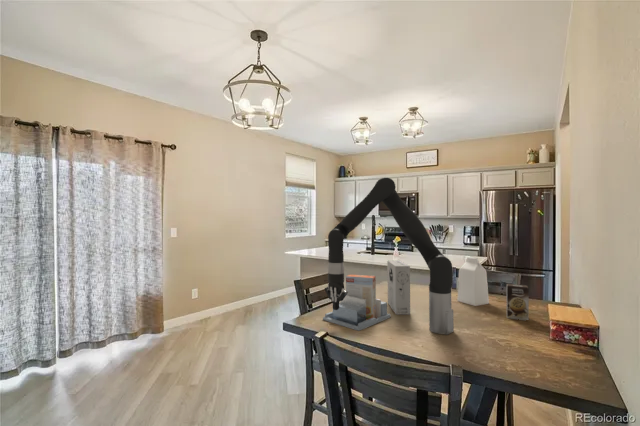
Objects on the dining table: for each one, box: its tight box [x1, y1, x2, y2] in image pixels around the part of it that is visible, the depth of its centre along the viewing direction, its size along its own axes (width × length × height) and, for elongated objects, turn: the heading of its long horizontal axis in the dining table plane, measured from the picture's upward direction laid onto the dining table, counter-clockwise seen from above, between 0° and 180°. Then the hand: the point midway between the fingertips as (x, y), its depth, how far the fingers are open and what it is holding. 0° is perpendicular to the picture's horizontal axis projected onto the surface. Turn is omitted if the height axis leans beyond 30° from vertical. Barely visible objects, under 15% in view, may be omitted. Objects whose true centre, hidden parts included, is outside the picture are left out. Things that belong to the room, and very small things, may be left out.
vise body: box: [322, 298, 392, 332], centre depth 157 cm, size 22×26×9 cm
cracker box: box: [345, 274, 377, 320], centre depth 159 cm, size 14×6×21 cm, turn 65°
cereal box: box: [386, 259, 411, 315], centre depth 174 cm, size 22×8×25 cm, turn 179°
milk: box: [456, 256, 490, 307], centre depth 186 cm, size 12×12×26 cm
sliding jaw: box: [332, 295, 366, 326], centre depth 153 cm, size 19×7×11 cm, turn 46°
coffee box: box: [506, 283, 530, 321], centre depth 157 cm, size 9×6×16 cm
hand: (335, 309), depth 146 cm, fingers closed
